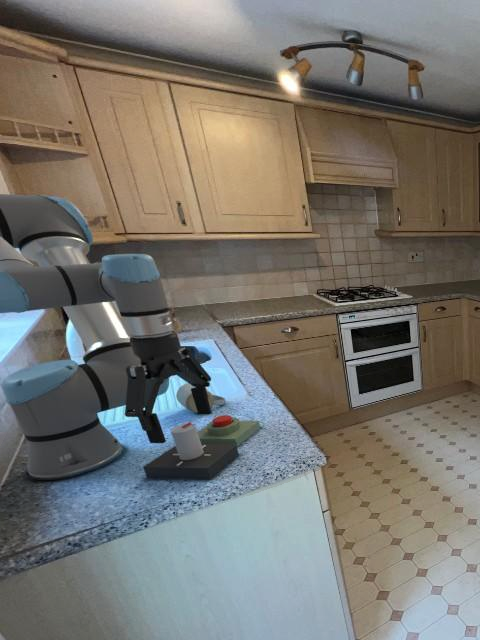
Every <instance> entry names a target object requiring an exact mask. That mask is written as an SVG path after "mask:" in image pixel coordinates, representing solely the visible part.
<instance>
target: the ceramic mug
mask: <svg viewBox="0 0 480 640" xmlns="http://www.w3.org/2000/svg"><path fill="white" fill-rule="evenodd" d="M192 388H195V387H193V386H192V385H191V384H189V383H188V382H186V383H184V384H182V385H181V386H180V387H179V388H178V389H177V391H176V400H177V402H178V403H179V404H180V405H181V406H182V407H184V408H185V409H186V410H187V411H189V412H192V413H195V414H198V412H197V408H196V405H195V402H194V399H193V395H192V392H191V389H192ZM206 391H207V394H208V401H209V405H210V408H211V409H212V407H213V406H223V405H225V404H226V398H225V397H223V396H221V395H216V394H212V392H211V391H210V390H208V389H207V388H206Z"/></svg>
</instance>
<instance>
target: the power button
mask: <svg viewBox="0 0 480 640" xmlns="http://www.w3.org/2000/svg"><path fill="white" fill-rule="evenodd" d="M231 417H232V416H231V415H229V414H222V415H218V416H216V417H213V419H212V421H213V424H214V427H224V426H227V425H230V424H232V418H231Z"/></svg>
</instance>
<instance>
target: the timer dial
mask: <svg viewBox="0 0 480 640" xmlns="http://www.w3.org/2000/svg"><path fill="white" fill-rule="evenodd" d="M170 433H171V437H172V439H173V442H174V446H176V449H177V451H178V454H179V457H180V459H181V460H191V459H194V458H197V457H199V456H201V455H202V454H203V453H204V451H203V448H202V445H201V442H200V439H199V435H198V428H197V426H196V424H195V423H192V422H187V423H182V424H180V425H176V426H174V427H173V428H171V429H170Z"/></svg>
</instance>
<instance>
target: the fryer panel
mask: <svg viewBox="0 0 480 640" xmlns="http://www.w3.org/2000/svg"><path fill="white" fill-rule="evenodd" d="M201 445H202V448H203V451H204V453H203V454H202V455H201V456H199V457H197V458H194V459H191V460H181V459H180V457H179V454H178V451H177V449H176V446H175V445H174V446H172V447H171V448H170V449H168V450H167V451H165V452H164V453H162V454H161V455H159V456H157V457H156V458H154V459H153V460H152V461H150V462H148V463H147V464H145V465H144V466H143V468H142V469H143V471H144V473H145V476H146V479H160V480H161V479H164V480H165V479H167V480H168V479H169V480H212V479H213V478H214V477H215V476H216V475H218V474H219V473H220V472H221V471H222V470H224V469H225V468H227V466H228V465H229V464H231V463H232V462H233V461H234V460H235V459H237V458H238V457H239V456H240V453H239V450H238V446H237V445H222V444H201Z"/></svg>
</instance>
